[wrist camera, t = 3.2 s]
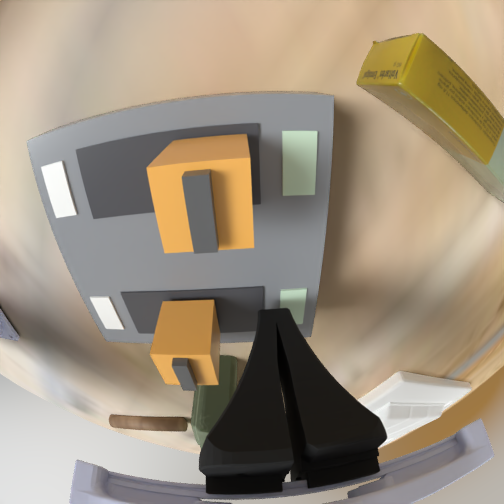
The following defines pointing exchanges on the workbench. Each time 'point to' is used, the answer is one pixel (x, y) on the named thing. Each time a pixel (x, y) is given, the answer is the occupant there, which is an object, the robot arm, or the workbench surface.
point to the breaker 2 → (187, 343)
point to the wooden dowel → (148, 423)
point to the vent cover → (411, 401)
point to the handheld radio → (213, 399)
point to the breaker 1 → (203, 194)
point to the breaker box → (145, 223)
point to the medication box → (439, 103)
